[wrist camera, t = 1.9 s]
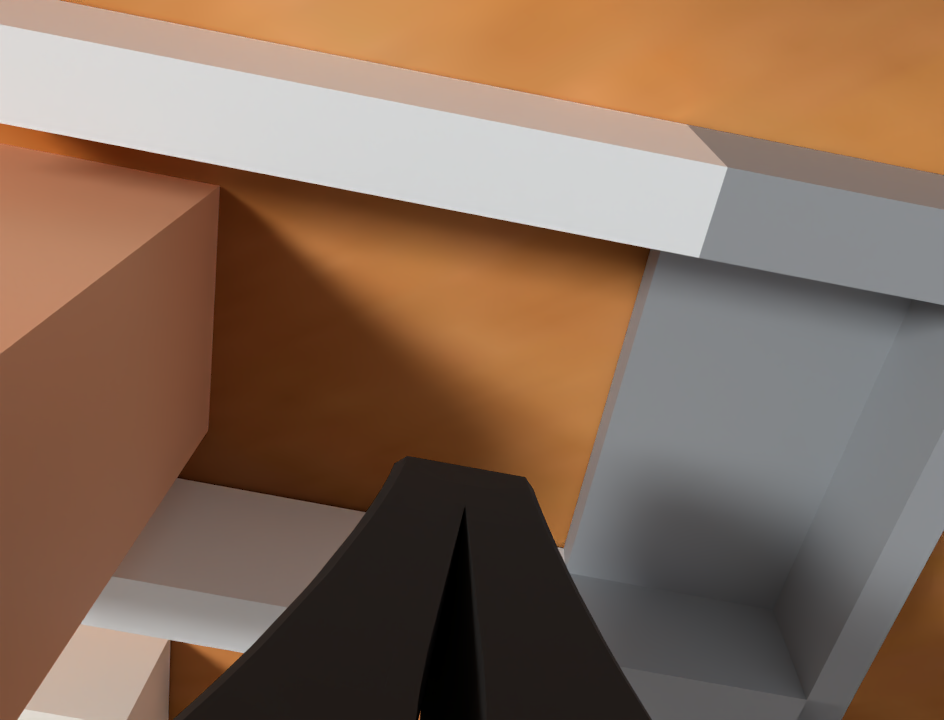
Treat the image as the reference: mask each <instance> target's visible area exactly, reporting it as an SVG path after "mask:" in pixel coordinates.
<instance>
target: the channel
mask: <svg viewBox="0 0 944 720" xmlns="http://www.w3.org/2000/svg"><path fill="white" fill-rule="evenodd" d="M0 123H3V124H8V125H13V126H18V127H23V128H29V129H34V130H39V131H44V132H49V133H55V134H60V135H65V136H70V137H75V138H80V139H86V140H91V141H96V142H101V143H106V144H112V145H117V146H122V147H127V148H132V149H137V150H143V151H148V152H153V153H158V154H163V155H169V156H174V157H179V158H184V159H189V160H194V161H200V162H205V163H210V164H215V165H220V166H226V167H231V168H236V169H241V170H246V171H251V172H257V173H262V174H267V175H272V176H277V177H283V178H288V179H293V180H298V181H303V182H308V183H314V184H319V185H324V186H329V187H334V188H340V189H345V190H350V191H355V192H360V193H365V194H371V195H376V196H381V197H386V198H391V199H397V200H402V201H407V202H412V203H417V204H423V205H428V206H433V207H438V208H443V209H448V210H454V211H459V212H464V213H469V214H474V215H480V216H485V217H490V218H495V219H500V220H505V221H511V222H516V223H521V224H526V225H531V226H537V227H542V228H547V229H552V230H557V231H562V232H568V233H573V234H578V235H583V236H588V237H594V238H599V239H604V240H609V241H614V242H619V243H625V244H630V245H635V246H640V247H645V248H651V249H656V250H661V251H666V252H671V253H676V254H682V255H687V256H692V257H697V258H699V256H700V252H701V249H702V246H703V243H704V240H705V237H706V234H707V231H708V227H709V224H710V221H711V218H712V215H713V212H714V209H715V205H716V202H717V199H718V196H719V193H720V190H721V187H722V183H723V180H724V177H725V174H726V171H727V168H728V167H727V166H726V165H725V164H724V163H723V162H722V161H721V160H720V159H719V158H718V157H717V156H716V154H715V153H714V152H713V151H712V150H711V149H710V148H709V147H708V146H707V145H706V144H705V143H704V142H703V141H702V140H701V139H700V138H699V137H698V136H697V135H696V134H695V132H694V131H693V130H692V129H691V128H690V127H689V126H688V125H687V124H682V123H677V122H672V121H667V120H662V119H657V118H652V117H647V116H641V115H636V114H631V113H626V112H621V111H616V110H611V109H606V108H601V107H596V106H591V105H586V104H581V103H576V102H571V101H566V100H561V99H555V98H550V97H545V96H540V95H535V94H530V93H525V92H520V91H515V90H510V89H505V88H500V87H495V86H490V85H485V84H480V83H474V82H469V81H464V80H459V79H454V78H449V77H444V76H439V75H434V74H429V73H424V72H419V71H414V70H409V69H404V68H399V67H394V66H388V65H383V64H378V63H373V62H368V61H363V60H358V59H353V58H348V57H343V56H338V55H333V54H328V53H323V52H318V51H313V50H308V49H302V48H297V47H292V46H287V45H282V44H277V43H272V42H267V41H262V40H257V39H252V38H247V37H242V36H237V35H232V34H227V33H221V32H216V31H211V30H206V29H201V28H196V27H191V26H186V25H181V24H176V23H171V22H166V21H161V20H156V19H151V18H146V17H141V16H135V15H130V14H125V13H120V12H115V11H110V10H105V9H100V8H95V7H90V6H85V5H80V4H75V3H70V2H65V1H60V0H0ZM365 513H366V512H361V511H356V510H350V509H345V508H339V507H334V506H328V505H323V504H317V503H312V502H306V501H301V500H295V499H290V498H284V497H279V496H273V495H268V494H262V493H257V492H251V491H246V490H240V489H235V488H229V487H224V486H218V485H213V484H207V483H202V482H196V481H191V480H185V479H180V478H177V479H176V480H175V482H174V483H173V485H172V486H171V488H170V489H169V491H168V492H167V494H166V495H165V497H164V498H163V500H162V501H161V503H160V504H159V506H158V507H157V509H156V510H155V512H154V513H153V515H152V516H151V518H150V519H149V521H148V523H147V524H146V526H145V527H144V529H143V530H142V532H141V533H140V535H139V536H138V538H137V539H136V541H135V542H134V544H133V545H132V547H131V548H130V550H129V551H128V553H127V554H126V556H125V557H124V559H123V560H122V562H121V563H120V565H119V566H118V568H117V569H116V571H115V573H114V574H113V576H112V577H111V579H110V580H109V582H108V583H107V585H106V586H105V588H104V589H103V591H102V592H101V594H100V595H99V597H98V598H97V600H96V601H95V603H94V604H93V606H92V607H91V609H90V610H89V612H88V613H87V615H86V616H85V618H84V620H83V621H82V623H81V624H82V625H88V626H94V627H99V628H105V629H111V630H116V631H122V632H128V633H133V634H139V635H145V636H150V637H156V638H162V639H168V640H173V641H179V642H185V643H190V644H196V645H202V646H207V647H213V648H219V649H224V650H230V651H236V652H241V653H245V652H246V651H247V650H248V649H249V648H250V647H251V646H252V645H253V644H254V643H255V642H256V641H257V640H258V638H259V637H260V636H261V635H262V634H263V633H264V632H265V631H266V630H267V629H268V628H269V627H270V626H271V625H272V624H273V622H274V621H275V620H276V619H277V618H278V617H279V616H280V615H281V614H282V613H283V612H284V611H285V610H286V609H287V608H288V606H289V605H290V604H291V603H292V602H293V601H294V600H295V599H296V598H297V597H298V596H299V595H300V594H301V593H302V592H303V590H304V589H305V588H306V587H307V586H308V585H309V584H310V582H311V581H312V580H313V579H314V578H315V577H316V576H317V574H318V573H319V572H320V571H321V569H322V568H323V567H324V566H325V564H326V563H327V562H328V561H329V559H330V558H331V557H332V556H333V555H334V553H335V552H336V551H337V550H338V548H339V547H340V546H341V545H342V543H343V542H344V541H345V540H346V538H347V537H348V536H349V535H350V534H351V532H352V531H353V530H354V528H355V527H356V525H357V524H358V523H359V521H360V520H361V519H362V517H363V516H364V514H365ZM558 550H559V552H560V554H561V556H562V558H563V560H564V562H565V559H564V548H559V547H558Z"/></svg>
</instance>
